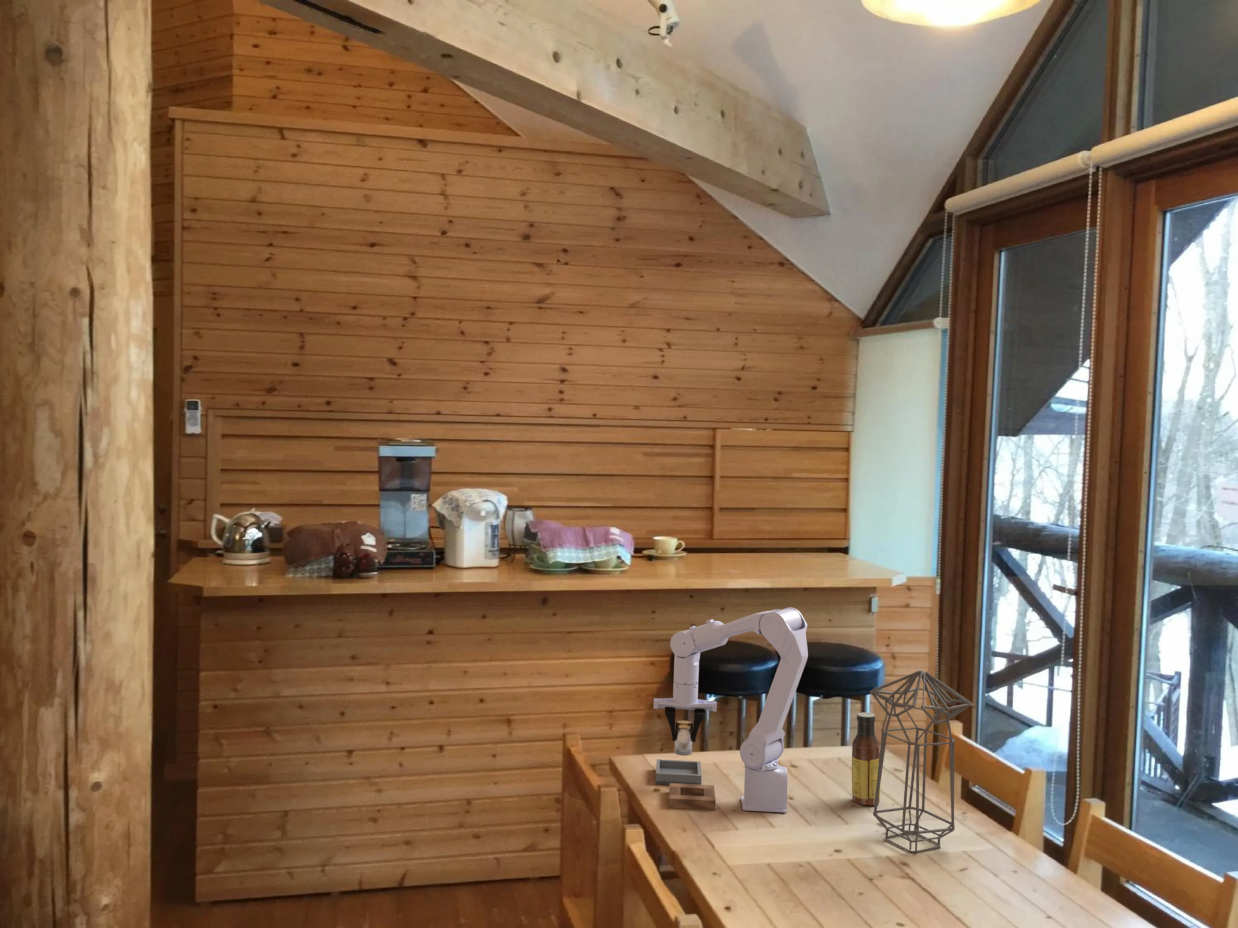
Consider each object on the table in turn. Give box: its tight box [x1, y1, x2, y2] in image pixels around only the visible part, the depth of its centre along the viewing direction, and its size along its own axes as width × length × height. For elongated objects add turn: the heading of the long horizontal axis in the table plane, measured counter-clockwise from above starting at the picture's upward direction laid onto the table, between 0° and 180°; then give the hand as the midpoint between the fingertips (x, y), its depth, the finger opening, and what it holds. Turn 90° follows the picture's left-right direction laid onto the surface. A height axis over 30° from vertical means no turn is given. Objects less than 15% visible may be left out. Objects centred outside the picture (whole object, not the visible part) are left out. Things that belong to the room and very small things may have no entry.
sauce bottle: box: [851, 711, 881, 807], centre depth 228 cm, size 6×6×20 cm
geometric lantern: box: [869, 669, 974, 854], centre depth 205 cm, size 16×16×35 cm
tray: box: [655, 758, 703, 786], centre depth 240 cm, size 11×11×2 cm
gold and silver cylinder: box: [674, 720, 694, 757], centre depth 235 cm, size 4×4×7 cm
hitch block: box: [668, 783, 717, 811], centre depth 225 cm, size 10×10×2 cm
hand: (683, 740), depth 235 cm, fingers closed on gold and silver cylinder, 4 cm apart
